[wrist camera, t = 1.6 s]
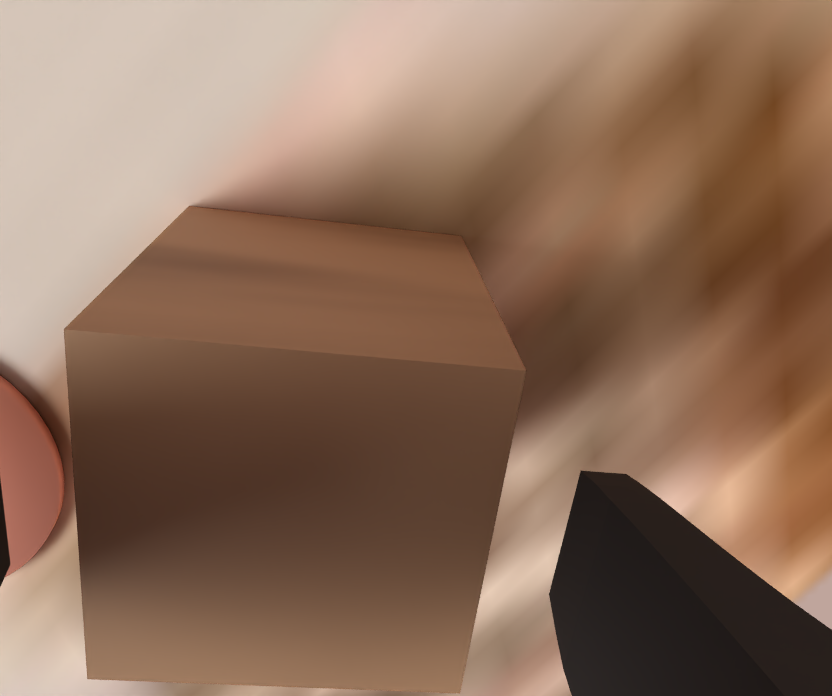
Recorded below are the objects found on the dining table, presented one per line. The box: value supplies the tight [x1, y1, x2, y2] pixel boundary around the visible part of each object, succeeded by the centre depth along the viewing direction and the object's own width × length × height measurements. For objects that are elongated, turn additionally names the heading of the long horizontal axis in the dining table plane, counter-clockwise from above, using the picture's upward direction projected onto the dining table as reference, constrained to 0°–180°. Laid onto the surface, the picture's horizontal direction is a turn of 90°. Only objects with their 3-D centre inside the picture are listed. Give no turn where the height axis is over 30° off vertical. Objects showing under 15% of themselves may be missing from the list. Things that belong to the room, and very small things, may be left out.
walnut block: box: [64, 206, 526, 693], centre depth 12 cm, size 5×5×6 cm
